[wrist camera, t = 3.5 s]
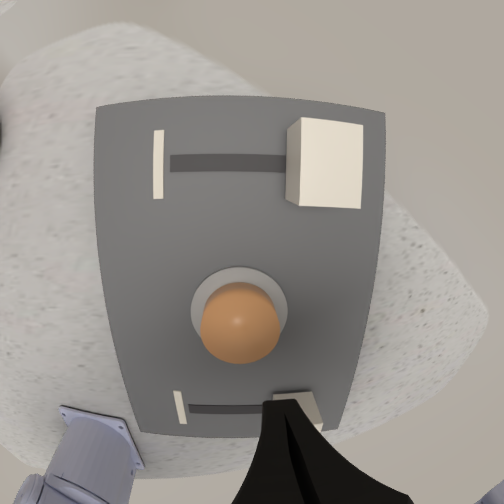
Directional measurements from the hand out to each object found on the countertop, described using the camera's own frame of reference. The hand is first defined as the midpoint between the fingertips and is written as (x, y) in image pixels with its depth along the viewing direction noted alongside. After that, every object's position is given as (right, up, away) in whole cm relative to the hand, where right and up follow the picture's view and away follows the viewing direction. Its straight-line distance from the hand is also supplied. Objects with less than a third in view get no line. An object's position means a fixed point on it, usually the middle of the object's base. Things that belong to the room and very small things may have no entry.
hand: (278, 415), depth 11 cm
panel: (-2, +4, +9) cm, 10 cm away
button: (-2, +3, +7) cm, 8 cm away
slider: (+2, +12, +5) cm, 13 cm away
